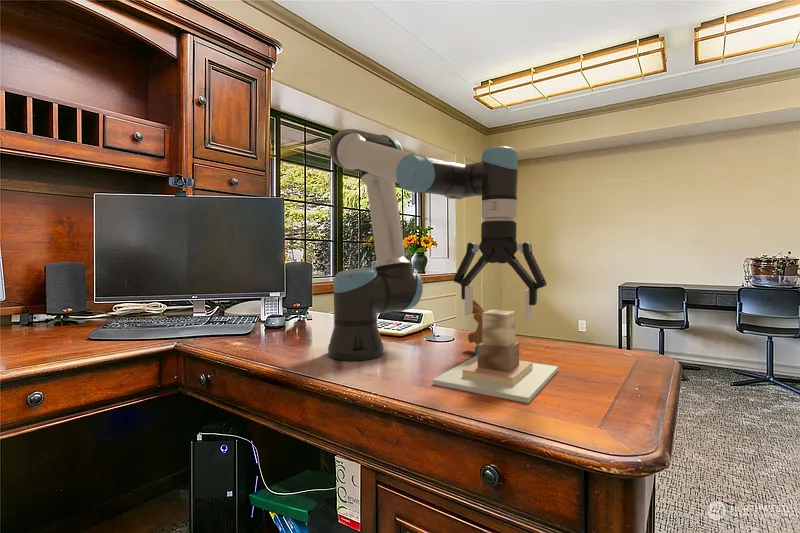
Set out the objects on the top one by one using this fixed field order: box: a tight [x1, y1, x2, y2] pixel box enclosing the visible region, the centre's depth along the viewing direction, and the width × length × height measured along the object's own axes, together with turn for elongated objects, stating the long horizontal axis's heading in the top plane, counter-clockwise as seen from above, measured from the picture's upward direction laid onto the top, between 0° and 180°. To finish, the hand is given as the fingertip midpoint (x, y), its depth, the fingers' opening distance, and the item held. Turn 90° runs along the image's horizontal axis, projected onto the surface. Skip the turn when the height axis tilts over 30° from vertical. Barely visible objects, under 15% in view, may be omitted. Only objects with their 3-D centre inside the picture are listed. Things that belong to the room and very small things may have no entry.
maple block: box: [482, 309, 516, 348], centre depth 89 cm, size 6×6×7 cm
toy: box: [467, 299, 485, 356], centre depth 110 cm, size 12×7×15 cm, turn 171°
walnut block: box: [477, 341, 520, 372], centre depth 89 cm, size 7×7×5 cm
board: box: [432, 355, 559, 404], centre depth 89 cm, size 20×24×2 cm
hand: (497, 317), depth 89 cm, fingers open, 13 cm apart
